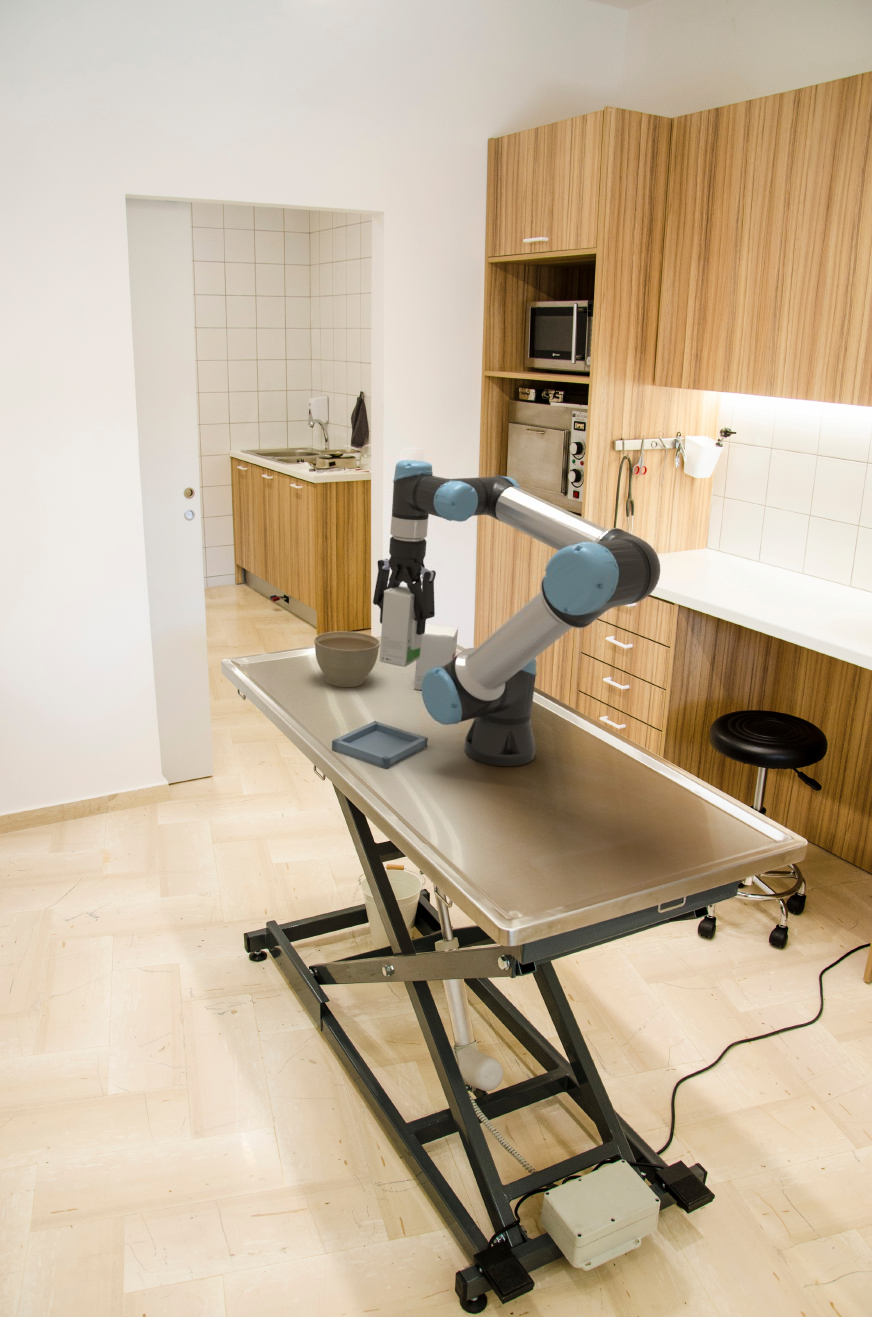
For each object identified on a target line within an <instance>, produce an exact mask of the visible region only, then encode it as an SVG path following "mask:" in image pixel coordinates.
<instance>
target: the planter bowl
mask: <svg viewBox="0 0 872 1317" xmlns="http://www.w3.org/2000/svg"><path fill="white" fill-rule="evenodd" d="M313 642H314V646H315V647H314V649H315V650H314V651H315V657H316V661H317V664H318V666H319V668H320V671H321V672H322V673H323V674H324V676H325V680H326V682H327V683H328V684H330V685H332V686H336V687H340V688H342V687H343V688H353V687H360V686H361V685H364V683H365V680H366V678H367V677H368V676H369V674H370V673H371V672H372V670H373V668H374V667H375V665H376V662H377V659H378V655H379V650H380V645H381V640H380V639H379V638H377V637H375V636H374V635H370V634H367V633H363V632H356V631H345V630H344V631H343V630H342V631H328V632H324V633H320V634H318V635H316V636H315V637H314V640H313Z"/></svg>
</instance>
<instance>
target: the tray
mask: <svg viewBox="0 0 872 1317" xmlns="http://www.w3.org/2000/svg"><path fill="white" fill-rule="evenodd" d="M331 741H332V742H331V750H332V751H334V750H336V751H335V752H337V751H338V753H340V754H342V755H343V754H344V756H348V757H351V758H354V759H357V760H358V761H363V762H365V763H369V764H371V765H374V766H375V767H376V766H377V767H380V768H382V769H385V770H387V769H389V768H391V767H394V766H395V765H396V764H398V763H400V762H402V761H404V760H406V759H408V758H409V757H411V756H412V757H413V755H416V754H417V753H418V752H421V751H423V750H424V749H426V748H428V743H429V742H428V741H429V740H428V737H425V736H422V735H419V734H416V733H414V732H413V733H412V732H410V731H407V730H404V729H401V728H397V727H396V726H395V727H394V726H391V725H389V724H385V723H382V722H381V721H376V720H374V721H372V722H370V723H367V724H365V725H363V726H361V727H359V728H356V729H354V730H352V731H350V732H347V733H346V734H343V735H341V736H339V737H337V738H335V739H333V740H331Z"/></svg>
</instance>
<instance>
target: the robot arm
mask: <svg viewBox="0 0 872 1317" xmlns="http://www.w3.org/2000/svg"><path fill="white" fill-rule="evenodd" d="M394 469H395V470H394V477H393V479H392V481H393V482H392V483H393V486H392V487H393V488H392V489H393V490H392V506H391V518H390V520H391V522H390V531H389V532H390V535H391V537H390V538H389V549H388V552H389V555H390V557H389V559H388V558H383V559H379V560H377V577H376V581H375V586H374V587H375V588H374V592H373V598H372V604H373V605H375V606H378V607H379V609H380V612H379V613H380V614H379V623H380V624H381V625H382V618H383V603H384V591H385V590H387V589H390V588H395V587H399V586H400V585H401V583H403V582H404V583H405V584H406V586H407V587H408V588H409V589H410V593H412V594H414V611H415V616H416V618H414V619H412V632H411V646H410V649H412V650H414V649H418V648H421V640H422V634H424V633H425V624H427V622H426V620H429V619H431V618H434V617H435V615H436V612H435V579H436V574H437V572H436V570H429V569H427V568H425V567H426V566H425V563H424V560H425V557H426V556H427V555H426V553H427V551H426V550H427V540H426V539H425V538H427V536H428V526H429V525H428V524H429V517H430V516H429V515H432V516H435V517H438V518H441V519H444V520H446V521H454V522H458V523H459V522H466V521H467V520H468V519H470V518H471V517H474V516H475V517H476V516H489V517H491V518H493V519H495V520H497V521H498V522H502V523H503V524H506V525H508V526H509V527H511V528H513V529H515V530H517V531H519V532H521V533H523V534H525V535H527V536H529V537H531V538H532V539H535V540H536V541H539V542H541V543H543V544H545V546H546V545H547V546H548V547H551V548H552V549H553V550H554V549H555V550H557V552H556V553H554V554H553V555H552V556H551V558H550V559H549V560H548V562H547V564H546V566H545V569H544V571H545V573H546V574H545V575H544V576H543V578H542V579H541V582H540V591H539V592H538V593H537V594H535V595H534V597H532V598H531V599H530V600H529V601H528V602H526V604H525V605H524V606H522V607H520V609H518V610H517V612H516V613H514V614H513V615H512V616H511V617H510V618H509V619H508V620H507V621H506V622H504V623H503V624H501V626H500V627H498V629H496V630H495V631H494V632H493V633H491V635H490V636H488V637H487V638H486V639H485V640H484V641H483V642H482V643H480V645H479V646H477V647H476V648H475V647H468V648H465V649H463V650H461V651H460V652H459V653H458V654H457V655H456V657H454V658H453V659H452V660H451V661H450V662H449V663H447V664H446V665H444V666H437V667H434V668H432V669H430V670H428V671H427V672H426V673H425V675H424V677H423V680H422V690H421V696H422V697H421V698H422V701H423V704H424V706H425V709H426V711H427V714H429V715H430V717H431V718H432V719H433V720H434V721H436V722H438V723H439V724H441V725H444V726H448V725H458V724H460V723H461V722H465V721H468V720H472V719H473V721H472V723H471V725H470V726H469V729H468V731H467V734H466V736H465V740H464V747H463V750H464V752H465V754H466V755H467V756H468V757H469V758H471V759H473V760H475V761H477V762H480V763H483V764H486V765H490V766H491V765H492V766H497V767H516V766H523V765H526V764H528V763H531V762H532V761H533V760H534V759H535V755H536V754H535V753H536V742H535V739H534V732H533V729H532V725H531V718H532V717H531V716H532V709H533V700H534V693H535V686H536V677H537V659H536V658H537V657H538V656H540V654H542V653H543V652H544V651H545V650H546V649H548V648H549V647H550V646H551V645H552V644H554V643H555V642H556V641H557V640H559V639H560V638H561V637H563V636H564V635H565V634H566V633H567V632H569V631H570V630H571V629H572V628H574V629H584V628H586V627H588V626H590V625H591V624H592V623H593V622H595V621H596V620H597V619H598V618H600V617H601V616H602V615H603V614H604V613H606V612H607V611H609V610H611V609H613V608H617V607H618V608H619V607H622V606H627V605H632V604H636V603H639V602H641V601H643V600H645V599H646V598H647V597H649V596H650V595H651V594H652V593H653V591H655V589H656V587H657V585H658V583H659V581H660V577H661V563H660V559H659V556H658V554H657V552H656V551H655V549H654V548H653V547H652V545H651V544H650V543H648V542H647V541H645V540H644V539H642V538H641V537H638V536H636V535H634V534H632V533H630V532H628V531H625V530H624V529H621V528H618V527H613V528H610V529H608V528H605V527H604V526H601V525H599V524H597V523H594V522H592V521H590V520H588V519H586V518H584V517H582V516H580V515H577V514H575V513H573V512H571V511H569V510H566V509H564V508H562V507H560V506H557V505H556V504H553V503H551V502H549V501H547V500H545V499H543V498H540V497H538V496H536V495H534V494H532V493H529V492H528V491H525V490H524V489H521V486H520V485H519V483H518V482H517V481H516V479H514V478H513V477H509V476H503V475H493V476H482V477H463V478H462V477H461V478H446V477H445V478H444V477H441V476H436V475H434V474H433V465H432V464H431V463H429V462H428V461H423V460H416V459H415V460H413V459H411V460H410V459H405V460H399V461H398V462H397V463H396V465H395V468H394ZM390 570H391V572H390ZM381 632H382V630H381Z"/></svg>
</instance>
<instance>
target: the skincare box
mask: <svg viewBox="0 0 872 1317" xmlns="http://www.w3.org/2000/svg"><path fill="white" fill-rule="evenodd" d="M414 618H416V616H415V611H414V594H412V593H410V589H409V588H408V587H407V585H404V584H400V586H399V587H395V588H390V589H387V590H385V591H384V603H383V618H382V624H381V631H382V632H381V634H380V646H379V660H378V661H379V662H380V663H383V664H389V665H392V666H398V667H404V668H406V667H408V666H410V665H411V664H412V663H414V662H416V660H418V659H420V652H421V648H418V649H414V650H412V649H410V646H411V632H412V619H414Z"/></svg>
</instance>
